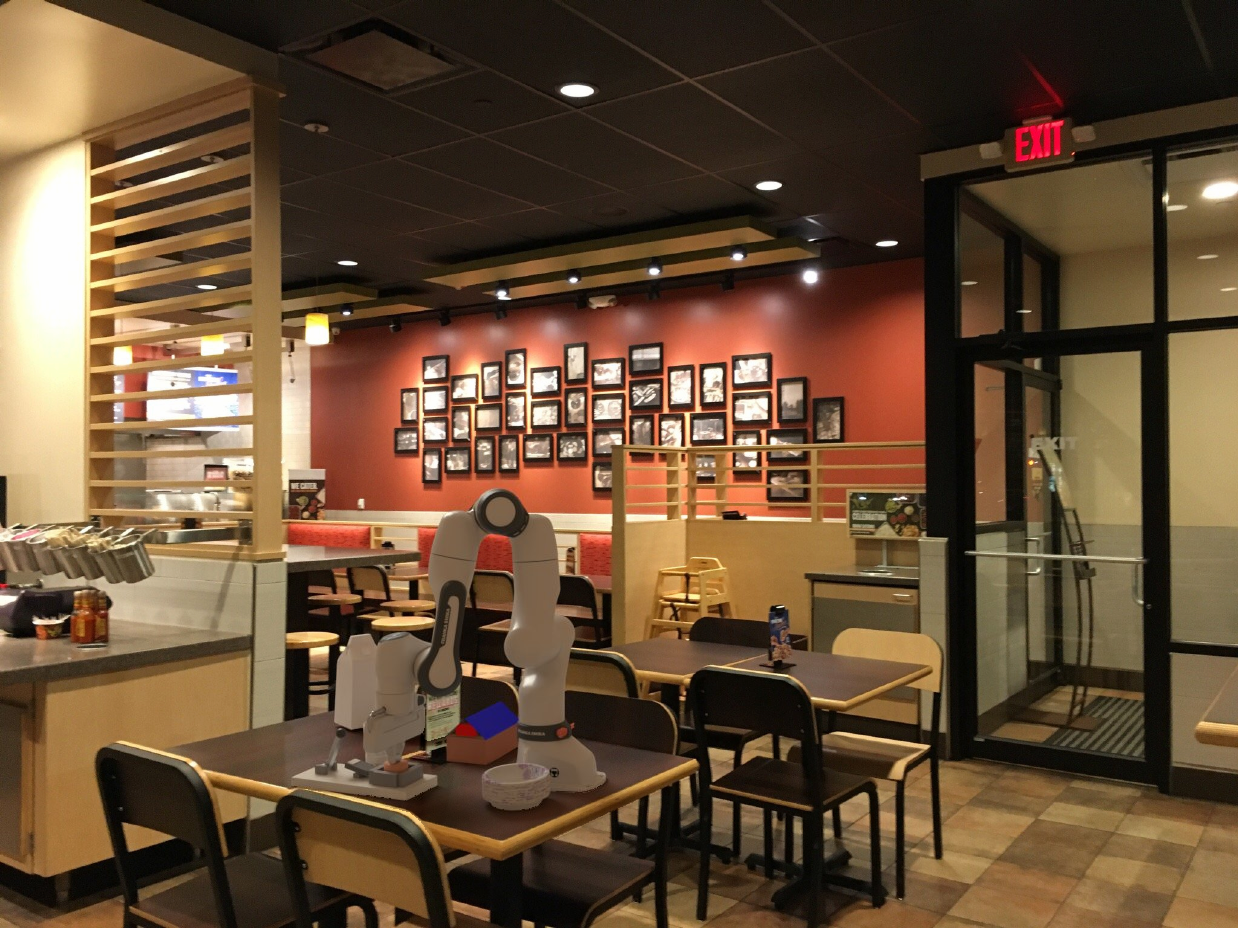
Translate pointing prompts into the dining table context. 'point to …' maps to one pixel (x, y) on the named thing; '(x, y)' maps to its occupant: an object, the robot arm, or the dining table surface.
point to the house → (483, 736)
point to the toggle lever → (335, 747)
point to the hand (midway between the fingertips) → (394, 761)
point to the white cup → (375, 756)
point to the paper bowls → (516, 785)
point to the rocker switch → (359, 766)
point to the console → (367, 781)
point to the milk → (356, 682)
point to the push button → (396, 766)
